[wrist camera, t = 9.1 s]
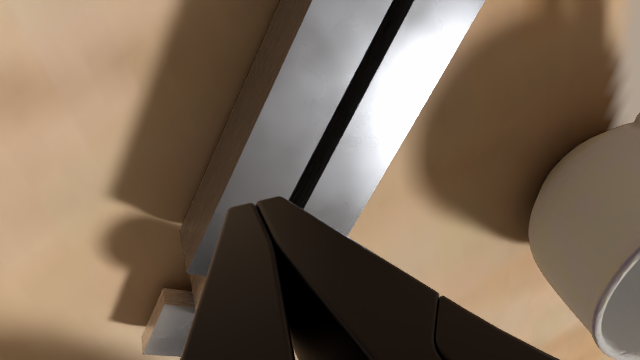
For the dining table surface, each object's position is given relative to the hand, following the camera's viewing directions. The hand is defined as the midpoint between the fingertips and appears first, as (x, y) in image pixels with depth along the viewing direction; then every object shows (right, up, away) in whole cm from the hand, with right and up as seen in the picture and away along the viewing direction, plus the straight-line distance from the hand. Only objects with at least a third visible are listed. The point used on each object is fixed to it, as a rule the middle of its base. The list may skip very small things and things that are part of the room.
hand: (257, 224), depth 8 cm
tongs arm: (0, +5, +11) cm, 12 cm away
